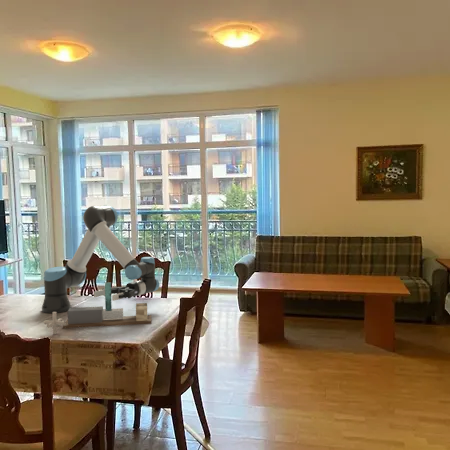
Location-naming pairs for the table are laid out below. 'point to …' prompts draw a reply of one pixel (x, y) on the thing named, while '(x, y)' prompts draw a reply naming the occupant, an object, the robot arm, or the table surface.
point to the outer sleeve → (85, 315)
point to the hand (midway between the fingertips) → (103, 296)
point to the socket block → (141, 311)
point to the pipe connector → (54, 322)
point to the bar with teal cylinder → (110, 306)
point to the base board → (111, 322)
